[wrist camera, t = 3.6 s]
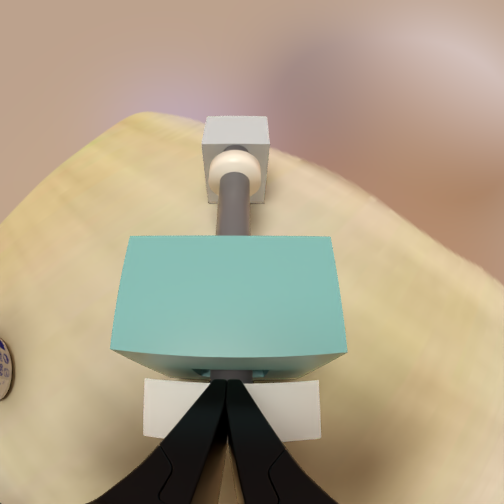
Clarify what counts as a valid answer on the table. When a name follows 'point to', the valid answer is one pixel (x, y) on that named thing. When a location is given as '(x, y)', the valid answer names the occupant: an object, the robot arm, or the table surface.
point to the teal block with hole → (229, 305)
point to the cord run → (236, 224)
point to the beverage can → (4, 369)
